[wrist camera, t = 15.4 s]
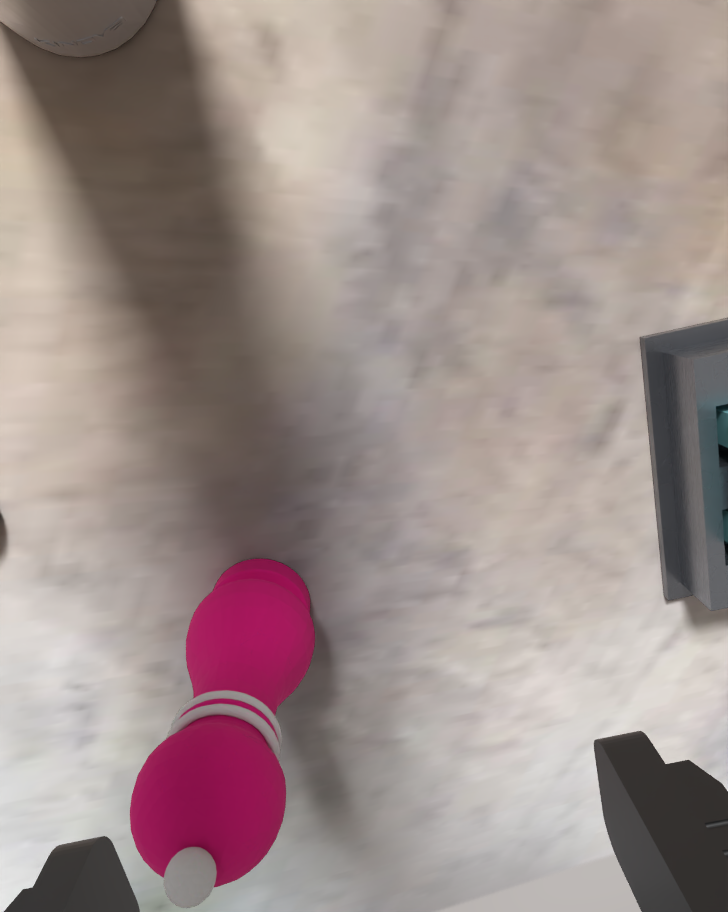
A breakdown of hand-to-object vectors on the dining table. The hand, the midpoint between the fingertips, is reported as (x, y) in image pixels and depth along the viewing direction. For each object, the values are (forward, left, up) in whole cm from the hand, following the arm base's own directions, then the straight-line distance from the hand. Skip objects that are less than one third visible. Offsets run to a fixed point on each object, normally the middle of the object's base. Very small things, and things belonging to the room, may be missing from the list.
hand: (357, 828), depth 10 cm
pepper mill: (+10, -8, -28) cm, 31 cm away
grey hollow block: (+7, +21, -28) cm, 36 cm away
